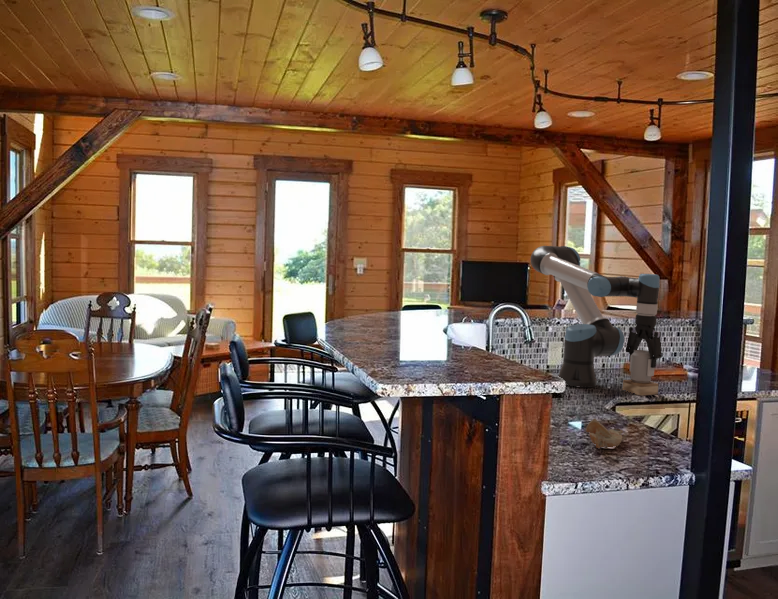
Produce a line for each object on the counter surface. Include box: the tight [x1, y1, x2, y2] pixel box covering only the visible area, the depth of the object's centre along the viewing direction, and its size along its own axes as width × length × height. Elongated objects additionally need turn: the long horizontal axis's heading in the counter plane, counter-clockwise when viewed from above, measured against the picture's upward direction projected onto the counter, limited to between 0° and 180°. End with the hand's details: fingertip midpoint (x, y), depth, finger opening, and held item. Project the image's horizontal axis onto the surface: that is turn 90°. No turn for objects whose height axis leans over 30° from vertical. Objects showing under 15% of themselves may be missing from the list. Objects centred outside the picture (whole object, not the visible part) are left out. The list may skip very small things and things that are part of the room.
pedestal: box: [622, 379, 659, 397], centre depth 270 cm, size 9×9×4 cm
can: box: [630, 349, 652, 383], centre depth 269 cm, size 8×8×12 cm
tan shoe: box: [585, 418, 624, 449], centre depth 196 cm, size 9×21×10 cm, turn 144°
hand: (641, 373), depth 269 cm, fingers open, 8 cm apart
